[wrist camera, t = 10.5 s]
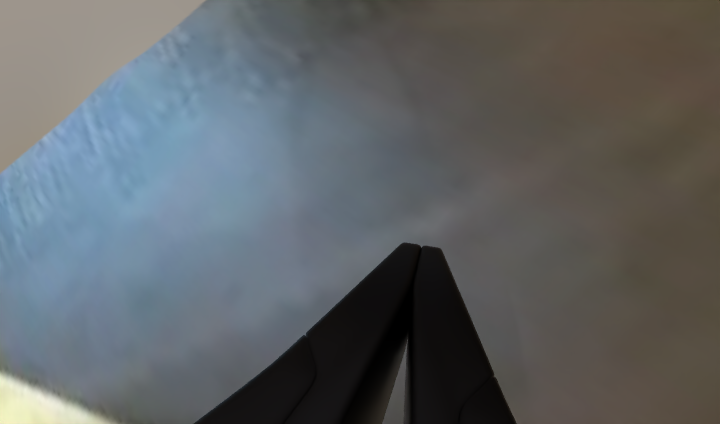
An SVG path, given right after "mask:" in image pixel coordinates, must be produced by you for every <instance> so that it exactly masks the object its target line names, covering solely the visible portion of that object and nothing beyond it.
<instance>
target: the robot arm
mask: <svg viewBox="0 0 720 424" xmlns="http://www.w3.org/2000/svg"><path fill="white" fill-rule="evenodd" d="M407 339H408V344H407ZM406 344H407V358H406V381H405V404H404V424H516V421H515V419H514V417H513V415H512V413H511V411H510V408H509V406H508V404H507V402H506V400H505V398H504V395H503V393H502V391H501V388H500V386H499V384H498V381H497V379H496V378H495V377H494V372H493V370H492V367H491V365H490V363H489V360H488V358H487V356H486V353H485V351H484V349H483V346H482V344H481V341H480V339H479V337H478V334H477V332H476V330H475V327H474V325H473V323H472V320H471V318H470V315H469V313H468V311H467V308H466V306H465V304H464V301H463V299H462V297H461V294H460V292H459V289H458V287H457V285H456V282H455V280H454V278H453V275H452V273H451V271H450V268H449V266H448V263H447V261H446V259H445V256H444V254H443V252H442V250H441V249H440V248H437V247H430V246H423V247H422V248H421V246H420V245H418V244H411V243H402V244H400V245H399V246H398V247H397V248H396V249H395V250H394V251H393V252H392V253H391V254H390V255H389V256H388V257H387V258H386V259H384V260H383V261H382V262H381V263H380V264H379V265H378V266H377V267H376V268H375V269H374V270H373V271H372V272H371V273H369V274H368V275H367V276H366V277H365V278H364V279H363V280H362V281H361V282H360V283H359V284H358V285H357V286H356V287H355V288H353V289H352V290H351V291H350V292H349V293H348V294H347V295H346V296H345V297H344V298H343V299H342V300H341V301H340V302H339V303H337V304H336V305H335V306H334V307H333V308H332V309H331V310H330V311H329V312H328V313H327V314H326V315H325V316H324V317H322V318H321V319H320V320H319V321H318V322H317V323H316V324H315V325H314V326H313V327H312V328H311V329H310V330H309V331H308V332H307V333H306V335H303V336H302V337H301V338H300V339H299V340H298V341H297V342H296V343H295V344H293V345H292V346H291V347H290V348H289V349H288V350H287V351H286V352H285V353H283V354H282V355H281V356H280V357H279V358H278V359H277V360H275V361H274V362H273V363H272V364H271V365H270V366H269V367H267V368H266V369H265V370H263V371H262V372H261V373H260V374H258V375H257V376H256V377H255V378H253V379H252V380H251V381H249V382H248V383H247V384H246V385H244V386H243V387H242V388H240V389H239V390H238V391H236V392H235V393H234V394H232V395H231V396H230V397H228V398H227V399H226V400H224V401H223V402H222V403H220V404H219V405H218V406H216V407H215V408H214V409H212V410H211V411H210V412H208V413H207V414H206V415H204V416H203V417H202V418H200V419H199V420H198V421H196V422H195V423H194V424H382V422H383V418H384V415H385V412H386V409H387V406H388V403H389V399H390V396H391V393H392V390H393V387H394V383H395V380H396V377H397V374H398V371H399V367H400V364H401V361H402V358H403V355H404V351H405V347H406Z"/></svg>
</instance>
